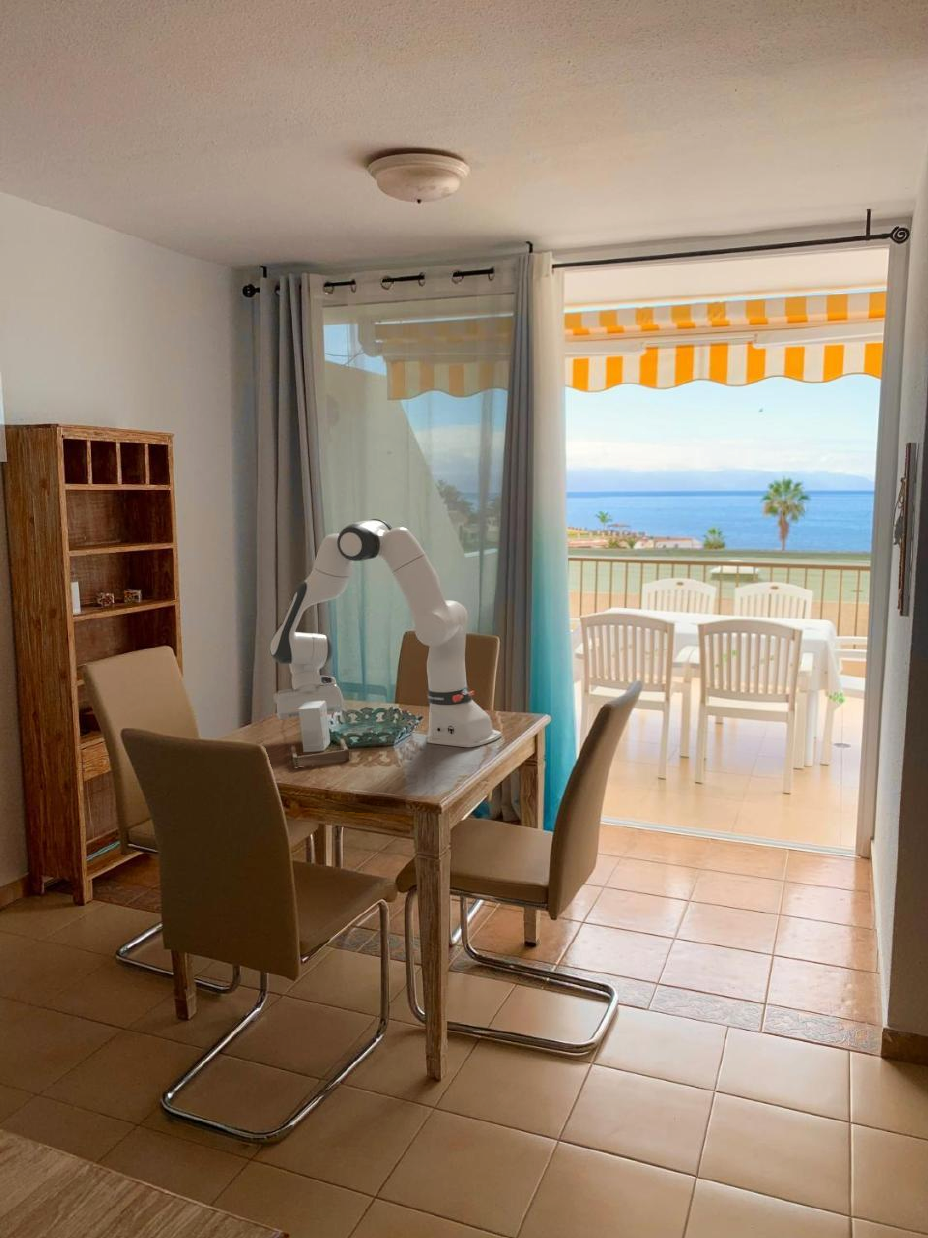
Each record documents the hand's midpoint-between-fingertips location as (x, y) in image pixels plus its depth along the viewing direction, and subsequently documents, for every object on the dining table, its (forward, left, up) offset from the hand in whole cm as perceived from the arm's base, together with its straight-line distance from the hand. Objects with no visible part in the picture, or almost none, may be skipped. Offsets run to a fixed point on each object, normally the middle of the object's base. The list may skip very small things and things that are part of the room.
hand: (313, 725), depth 286 cm
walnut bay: (-15, +10, -5) cm, 19 cm away
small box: (-6, +4, -5) cm, 8 cm away
